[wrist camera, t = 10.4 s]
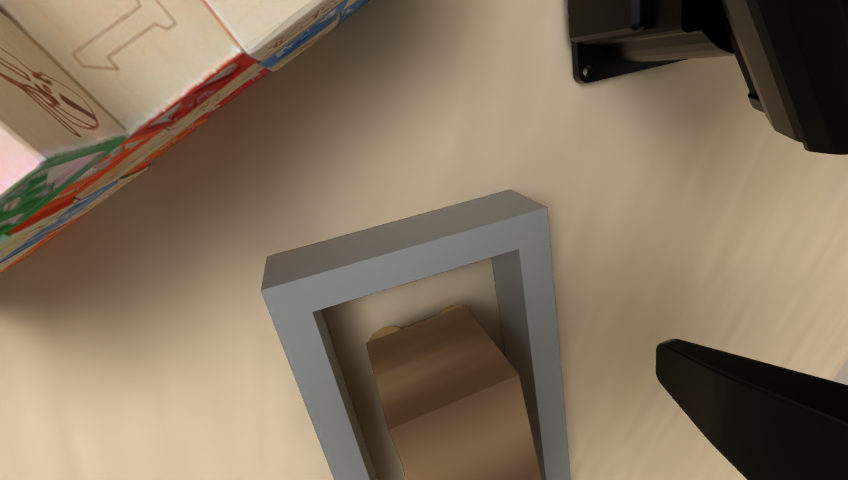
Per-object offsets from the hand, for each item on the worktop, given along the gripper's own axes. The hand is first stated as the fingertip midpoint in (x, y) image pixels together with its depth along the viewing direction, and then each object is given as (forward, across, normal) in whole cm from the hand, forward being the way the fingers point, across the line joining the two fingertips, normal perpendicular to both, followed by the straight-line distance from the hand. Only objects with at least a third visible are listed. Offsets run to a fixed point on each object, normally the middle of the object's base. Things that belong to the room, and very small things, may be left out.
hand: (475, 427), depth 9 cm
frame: (+12, -1, +10) cm, 16 cm away
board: (+10, -1, +10) cm, 14 cm away
